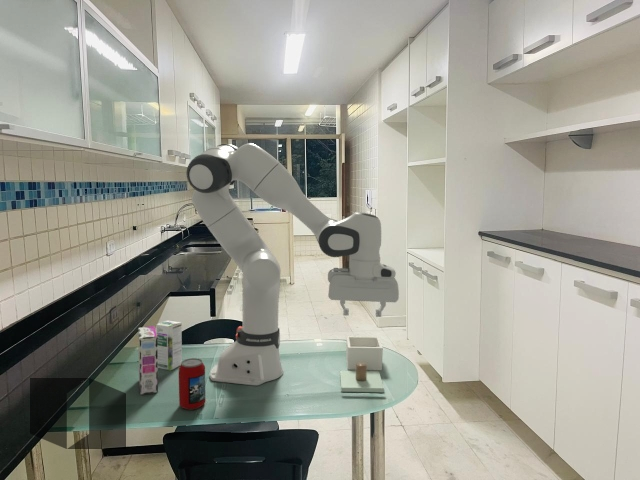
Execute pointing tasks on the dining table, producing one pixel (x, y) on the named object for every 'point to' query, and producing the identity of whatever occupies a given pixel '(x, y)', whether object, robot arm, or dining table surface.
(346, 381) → the lid
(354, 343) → the tub
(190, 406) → the beverage can
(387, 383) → the dining table surface
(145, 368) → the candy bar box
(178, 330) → the syrup box
